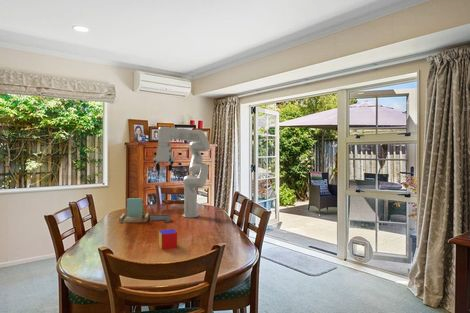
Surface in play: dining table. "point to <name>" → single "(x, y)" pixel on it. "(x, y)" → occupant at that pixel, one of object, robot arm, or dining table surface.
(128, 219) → the beige rectangular block
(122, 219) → the rack
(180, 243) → the dining table surface
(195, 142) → the robot arm
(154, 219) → the stand
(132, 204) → the teal rectangular slab
